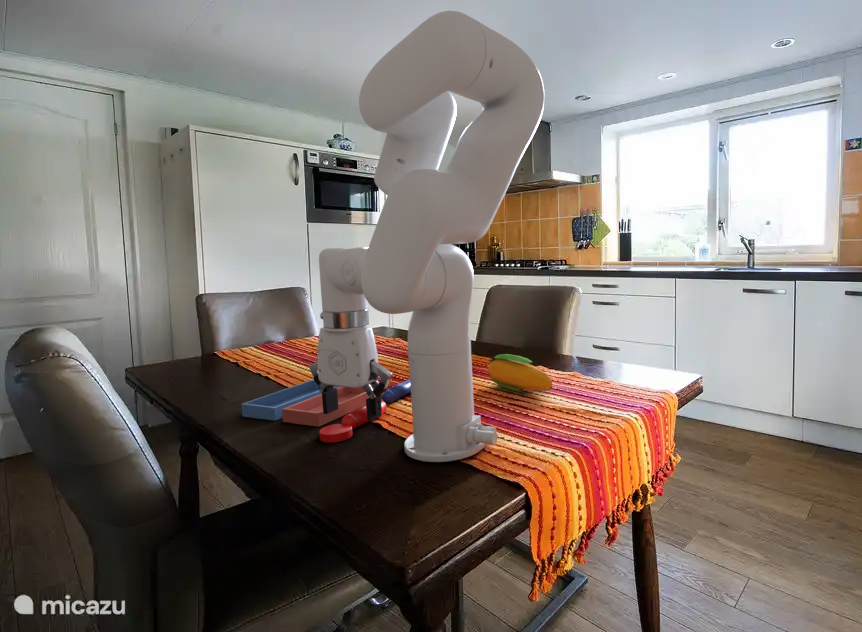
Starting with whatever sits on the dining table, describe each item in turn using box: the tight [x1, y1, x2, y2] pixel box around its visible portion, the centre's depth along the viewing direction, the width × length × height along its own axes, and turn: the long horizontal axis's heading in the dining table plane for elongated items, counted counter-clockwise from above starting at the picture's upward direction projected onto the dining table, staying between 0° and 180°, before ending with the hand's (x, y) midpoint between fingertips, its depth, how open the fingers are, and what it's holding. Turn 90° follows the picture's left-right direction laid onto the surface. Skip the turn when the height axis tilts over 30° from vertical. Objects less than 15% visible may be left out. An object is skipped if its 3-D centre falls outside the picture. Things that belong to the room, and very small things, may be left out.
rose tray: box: [282, 385, 382, 427], centre depth 101 cm, size 9×18×2 cm, turn 157°
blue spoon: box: [381, 378, 411, 404], centre depth 109 cm, size 16×5×3 cm, turn 157°
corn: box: [487, 353, 553, 394], centre depth 108 cm, size 7×8×20 cm
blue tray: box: [240, 379, 340, 422], centre depth 105 cm, size 9×18×2 cm, turn 157°
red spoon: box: [318, 400, 387, 444], centre depth 90 cm, size 16×5×3 cm, turn 157°
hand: (352, 414), depth 90 cm, fingers open, 9 cm apart
